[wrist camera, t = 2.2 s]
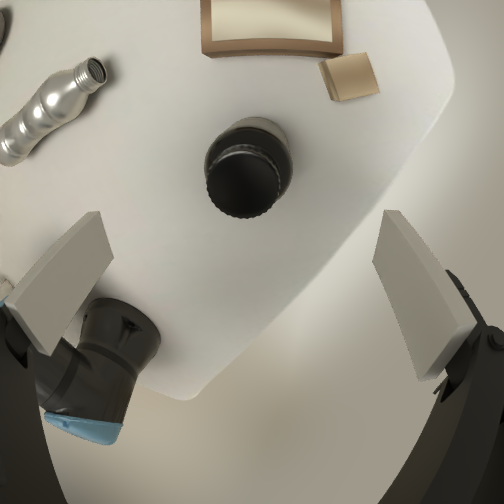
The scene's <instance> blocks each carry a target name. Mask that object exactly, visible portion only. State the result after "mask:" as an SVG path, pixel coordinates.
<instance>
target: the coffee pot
mask: <svg viewBox="0 0 504 504" xmlns="http://www.w3.org/2000/svg"><path fill="white" fill-rule="evenodd" d="M4 32H5V20H4V16H3V13H2V12H1V11H0V44H1V42H2V40H3V36H4Z"/></svg>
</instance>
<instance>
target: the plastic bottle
mask: <svg viewBox="0 0 504 504" xmlns="http://www.w3.org/2000/svg"><path fill="white" fill-rule="evenodd" d="M106 81H107V71H106V68H105V66H104V65H103V63H102V62H101V61H100V60H99V59H98V58H96V57H90V58H88V59H87V60H85V61H84V62H83V63H80V64H79V65H78V66H76V68H75V69H74V70H63V71H59V72H56V73H54V74H52V75H51V76H49V77H48V78H47V79H46V80H45V81H44V83H43V84H42V85H41V86H40V88H39V89H38V90H37V91H36V93H35V94H34V95H33V97H32V98H31V99H30V100H29V101H28V102H27V103H26V105H25V106H24V107H23V108H22V109H21V110H20V111H19V112H18V113H17V114H15V115H14V116H13V117H12V118H11V119H9V120H8V121H7V122H5V123H4V124H3V125H2V126H1V127H0V163H1V164H2V165H4V166H8V167H12V166H15V165H17V164H19V163H21V162H22V161H23V160H24V159H25V158H26V157H27V156H28V154H29V153H30V152H31V150H32V148H33V147H34V146H35V145H36V144H37V143H38V142H39V141H40V140H41V139H42V138H43V137H44V136H46V135H47V134H49V133H50V132H51V131H53V130H54V129H56V128H58V127H60V126H62V125H64V124H65V123H67V122H69V121H71V120H73V119H74V118H76V117H77V116H78V115H79V114H80V112H81V111H82V110H83V108H84V106H85V104H86V101H87V99H88V95H89V94H91V93H93V92H94V91H96V90H97V89H98V88H99V87H100V86H102V85H103V84H104V83H105V82H106Z"/></svg>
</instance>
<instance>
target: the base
mask: <svg viewBox="0 0 504 504" xmlns="http://www.w3.org/2000/svg"><path fill="white" fill-rule="evenodd" d="M200 6H201V45H202V54H204V55H206V56H208V57H210V58H217V57H228V56H246V55H294V56H311V57H323V58H332V59H333V58H335V57H338V56H340V55H342V54H343V33H342V14H341V1H340V0H200Z"/></svg>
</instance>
